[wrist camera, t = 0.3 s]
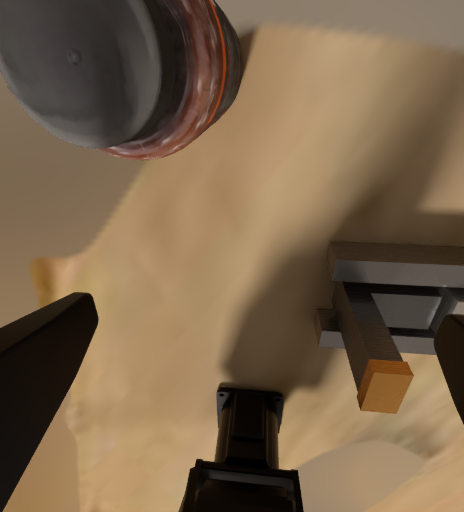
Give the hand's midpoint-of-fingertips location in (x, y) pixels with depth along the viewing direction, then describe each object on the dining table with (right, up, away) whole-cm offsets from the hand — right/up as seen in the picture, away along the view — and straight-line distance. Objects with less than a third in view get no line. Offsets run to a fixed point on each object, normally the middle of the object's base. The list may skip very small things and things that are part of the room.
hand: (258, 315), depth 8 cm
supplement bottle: (-3, +12, +9) cm, 15 cm away
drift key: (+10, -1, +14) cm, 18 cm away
